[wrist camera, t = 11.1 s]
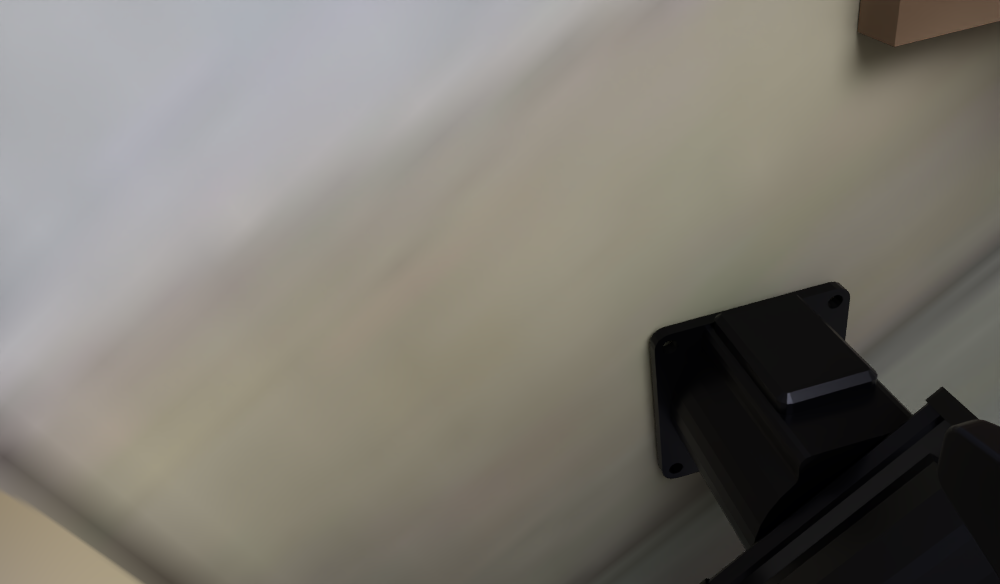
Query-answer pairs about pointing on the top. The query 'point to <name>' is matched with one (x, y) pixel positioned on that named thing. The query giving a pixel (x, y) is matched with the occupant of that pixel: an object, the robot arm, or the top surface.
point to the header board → (922, 18)
